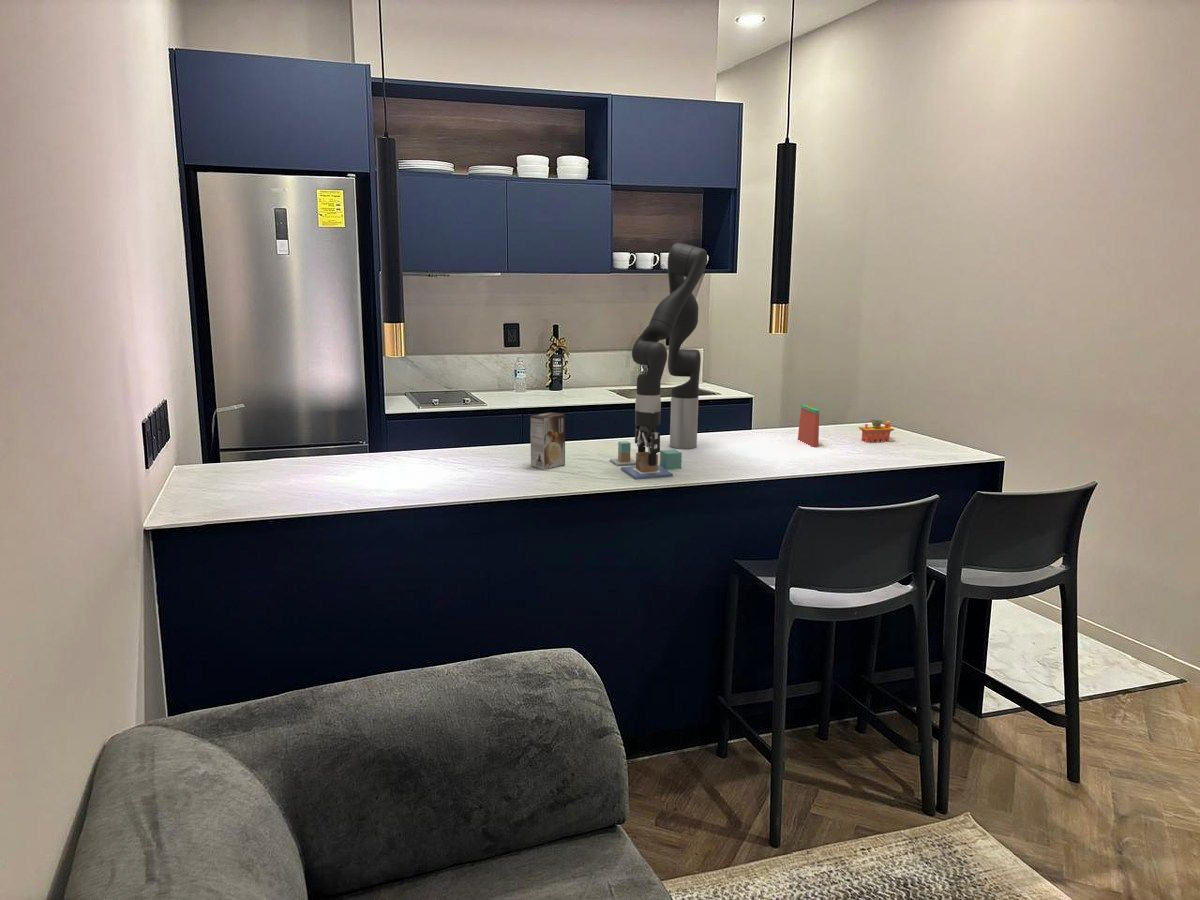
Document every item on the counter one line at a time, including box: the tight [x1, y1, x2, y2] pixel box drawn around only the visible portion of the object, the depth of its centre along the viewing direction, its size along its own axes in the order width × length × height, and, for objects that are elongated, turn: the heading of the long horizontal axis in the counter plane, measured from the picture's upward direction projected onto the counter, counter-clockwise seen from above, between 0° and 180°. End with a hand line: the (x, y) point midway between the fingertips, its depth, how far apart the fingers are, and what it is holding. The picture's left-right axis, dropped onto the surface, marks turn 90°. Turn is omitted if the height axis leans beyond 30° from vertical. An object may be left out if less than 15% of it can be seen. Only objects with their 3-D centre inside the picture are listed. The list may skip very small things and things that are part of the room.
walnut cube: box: [635, 451, 659, 473], centre depth 261 cm, size 5×5×5 cm
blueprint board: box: [620, 464, 674, 480], centre depth 262 cm, size 12×12×1 cm
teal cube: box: [659, 448, 683, 471], centre depth 269 cm, size 5×5×5 cm
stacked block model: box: [609, 440, 636, 467], centre depth 273 cm, size 7×7×7 cm
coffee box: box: [529, 411, 566, 470], centre depth 267 cm, size 9×6×16 cm
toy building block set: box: [797, 404, 895, 448], centre depth 308 cm, size 12×35×14 cm, turn 102°
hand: (646, 462), depth 261 cm, fingers open, 8 cm apart
